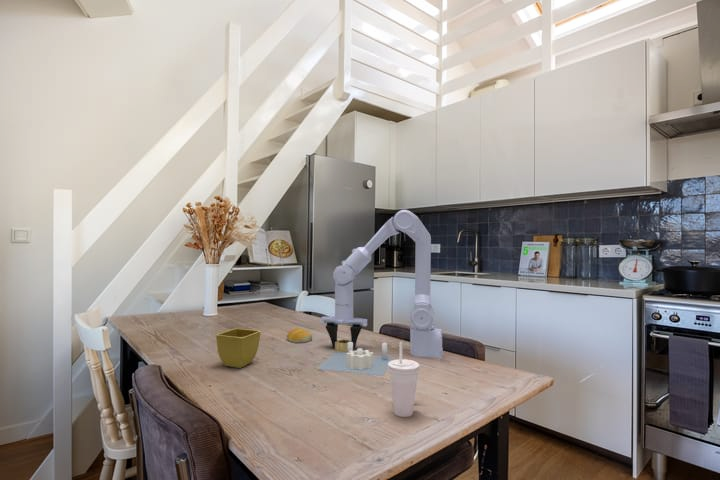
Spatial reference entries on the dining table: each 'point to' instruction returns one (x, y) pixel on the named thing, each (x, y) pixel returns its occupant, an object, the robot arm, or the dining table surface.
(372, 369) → the gear board
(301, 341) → the bread roll
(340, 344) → the brass gear
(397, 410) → the smoothie
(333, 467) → the dining table surface
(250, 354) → the flower pot
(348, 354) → the gear
